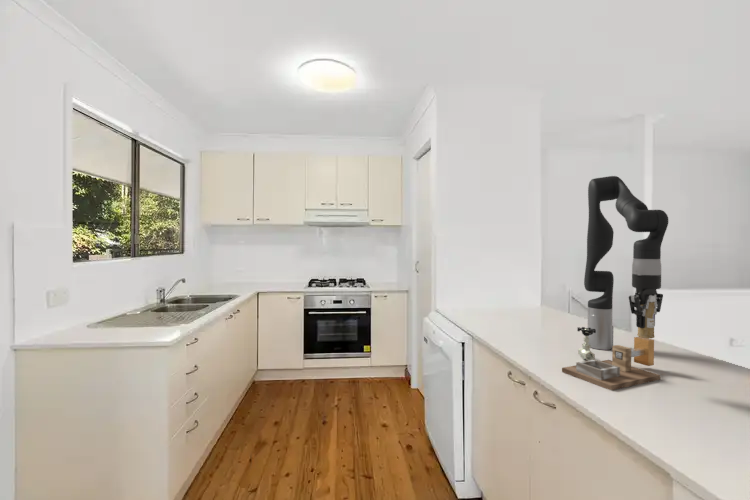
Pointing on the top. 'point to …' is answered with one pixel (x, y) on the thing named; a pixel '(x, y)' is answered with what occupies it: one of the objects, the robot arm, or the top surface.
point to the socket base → (611, 371)
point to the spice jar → (648, 321)
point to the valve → (586, 344)
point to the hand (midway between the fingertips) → (645, 326)
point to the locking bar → (641, 351)
